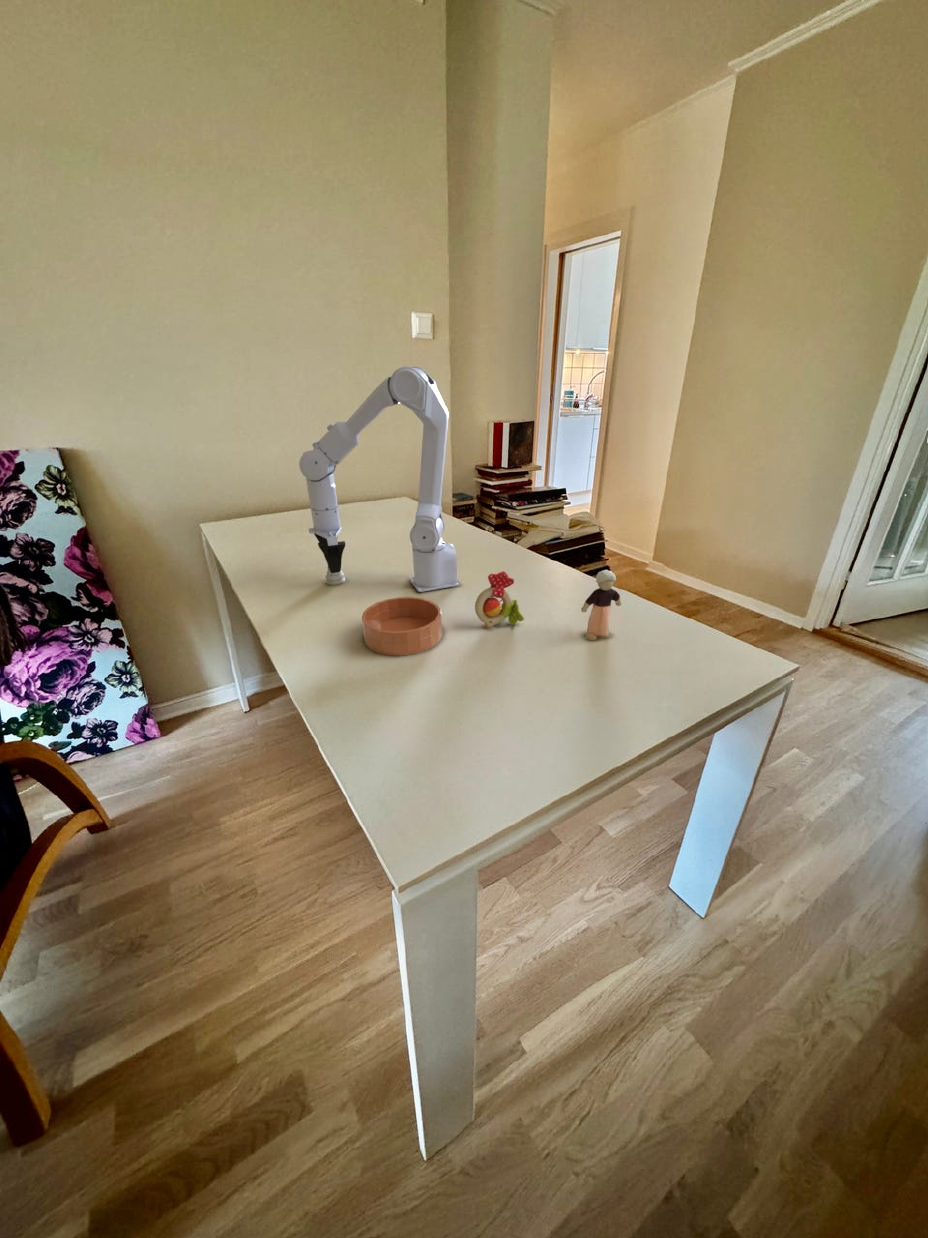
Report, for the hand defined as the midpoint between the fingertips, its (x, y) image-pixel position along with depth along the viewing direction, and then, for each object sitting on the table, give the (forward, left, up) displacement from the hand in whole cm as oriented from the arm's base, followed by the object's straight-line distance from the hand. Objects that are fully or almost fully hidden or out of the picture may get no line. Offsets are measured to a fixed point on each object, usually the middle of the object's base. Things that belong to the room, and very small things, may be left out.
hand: (333, 566), depth 110 cm
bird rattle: (-26, +34, -4) cm, 43 cm away
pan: (-8, +31, -4) cm, 32 cm away
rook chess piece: (0, 0, -4) cm, 4 cm away
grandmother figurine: (-41, +45, -4) cm, 61 cm away
